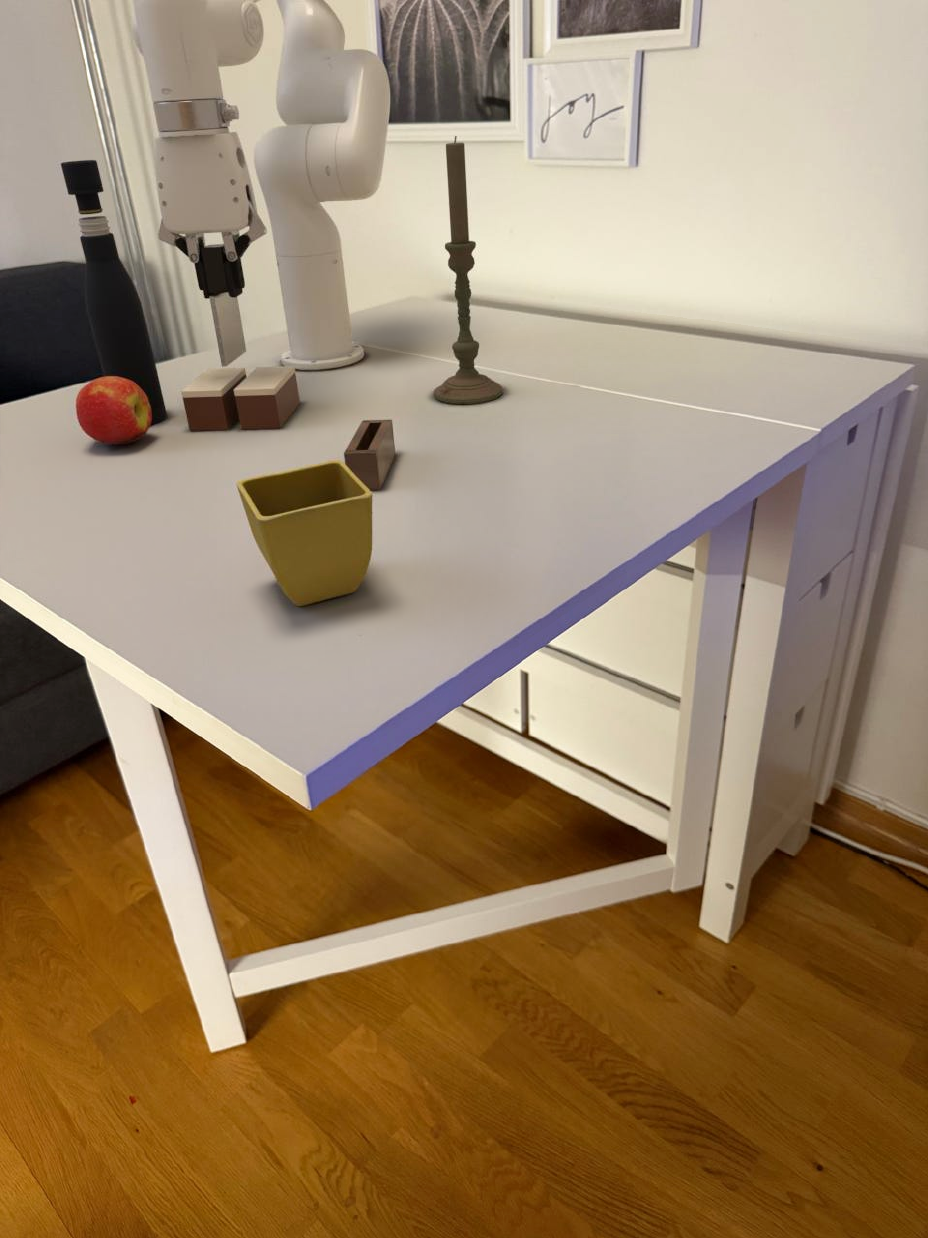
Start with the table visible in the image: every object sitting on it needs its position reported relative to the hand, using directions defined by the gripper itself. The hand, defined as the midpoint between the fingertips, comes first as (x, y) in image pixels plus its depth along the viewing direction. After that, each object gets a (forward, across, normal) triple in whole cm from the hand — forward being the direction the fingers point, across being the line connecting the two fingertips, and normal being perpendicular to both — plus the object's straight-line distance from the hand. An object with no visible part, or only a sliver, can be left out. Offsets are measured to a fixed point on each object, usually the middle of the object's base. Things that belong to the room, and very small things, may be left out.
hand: (223, 294), depth 107 cm
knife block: (+15, -20, +20) cm, 32 cm away
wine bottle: (+15, +14, 0) cm, 21 cm away
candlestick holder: (+15, -28, -7) cm, 33 cm away
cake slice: (+15, -3, 0) cm, 15 cm away
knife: (+8, 0, 0) cm, 8 cm away
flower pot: (+15, -20, +46) cm, 52 cm away
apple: (+15, +13, +9) cm, 22 cm away
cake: (+15, +3, 0) cm, 15 cm away
